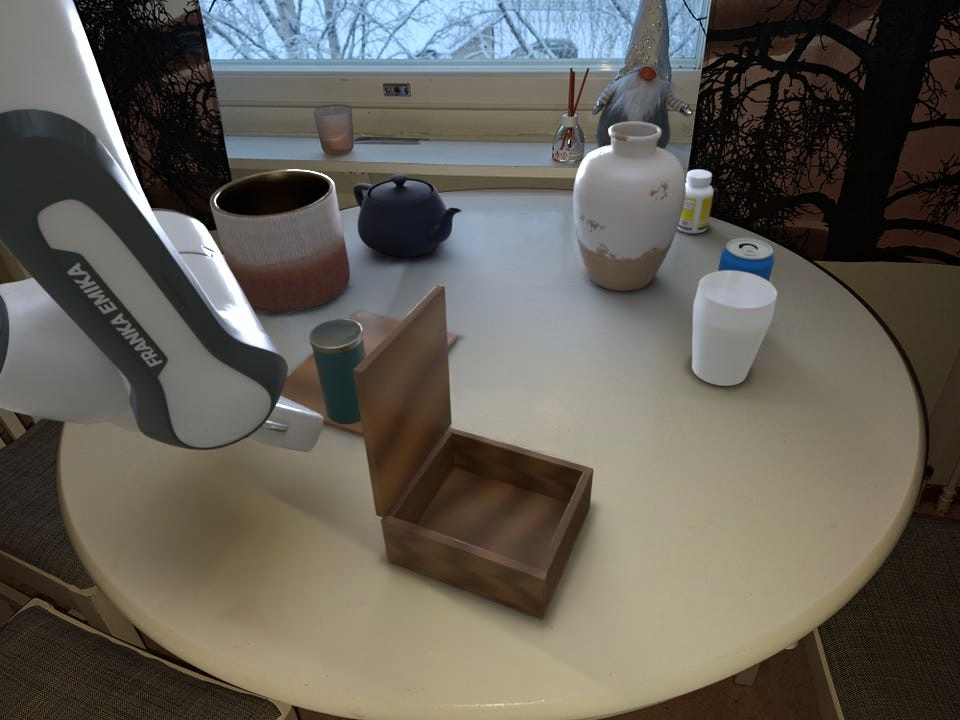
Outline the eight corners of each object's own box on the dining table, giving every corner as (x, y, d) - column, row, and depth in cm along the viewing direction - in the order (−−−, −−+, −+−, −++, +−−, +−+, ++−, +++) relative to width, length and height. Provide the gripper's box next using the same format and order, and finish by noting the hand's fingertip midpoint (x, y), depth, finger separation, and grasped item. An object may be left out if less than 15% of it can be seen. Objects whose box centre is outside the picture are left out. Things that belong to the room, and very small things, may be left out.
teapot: (327, 242, 119) (315, 174, 111) (392, 212, 128) (384, 148, 121) (430, 286, 105) (424, 212, 98) (494, 249, 114) (493, 179, 107)
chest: (589, 508, 68) (593, 468, 65) (542, 620, 59) (544, 579, 55) (451, 465, 74) (448, 426, 70) (387, 561, 64) (380, 520, 61)
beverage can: (752, 314, 96) (771, 237, 89) (759, 340, 91) (780, 261, 84) (705, 311, 97) (720, 235, 90) (709, 337, 92) (726, 258, 85)
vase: (550, 284, 104) (556, 136, 91) (595, 243, 115) (606, 105, 101) (648, 313, 97) (669, 156, 84) (686, 266, 108) (711, 121, 94)
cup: (678, 348, 90) (692, 268, 83) (749, 351, 89) (770, 271, 82) (686, 390, 83) (702, 307, 76) (762, 395, 82) (786, 311, 75)
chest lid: (445, 285, 60) (437, 284, 60) (362, 372, 50) (352, 369, 51) (451, 423, 70) (445, 421, 70) (383, 518, 60) (375, 515, 60)
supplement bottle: (704, 221, 121) (714, 167, 115) (709, 234, 116) (719, 180, 110) (673, 220, 121) (681, 167, 115) (676, 234, 117) (685, 179, 111)
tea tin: (357, 430, 78) (342, 352, 72) (316, 417, 80) (298, 341, 74) (383, 400, 82) (372, 324, 76) (343, 388, 84) (329, 314, 78)
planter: (279, 253, 116) (258, 163, 106) (371, 269, 110) (358, 175, 101) (211, 306, 102) (181, 208, 93) (312, 326, 97) (290, 225, 88)
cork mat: (373, 439, 78) (372, 435, 77) (262, 404, 83) (261, 401, 83) (457, 338, 94) (457, 334, 93) (359, 314, 99) (359, 311, 99)
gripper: (272, 388, 54) (368, 412, 66) (117, 318, 63) (227, 351, 75) (241, 463, 53) (344, 473, 66) (90, 381, 63) (205, 404, 75)
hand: (280, 407), depth 71 cm, fingers open, 8 cm apart
